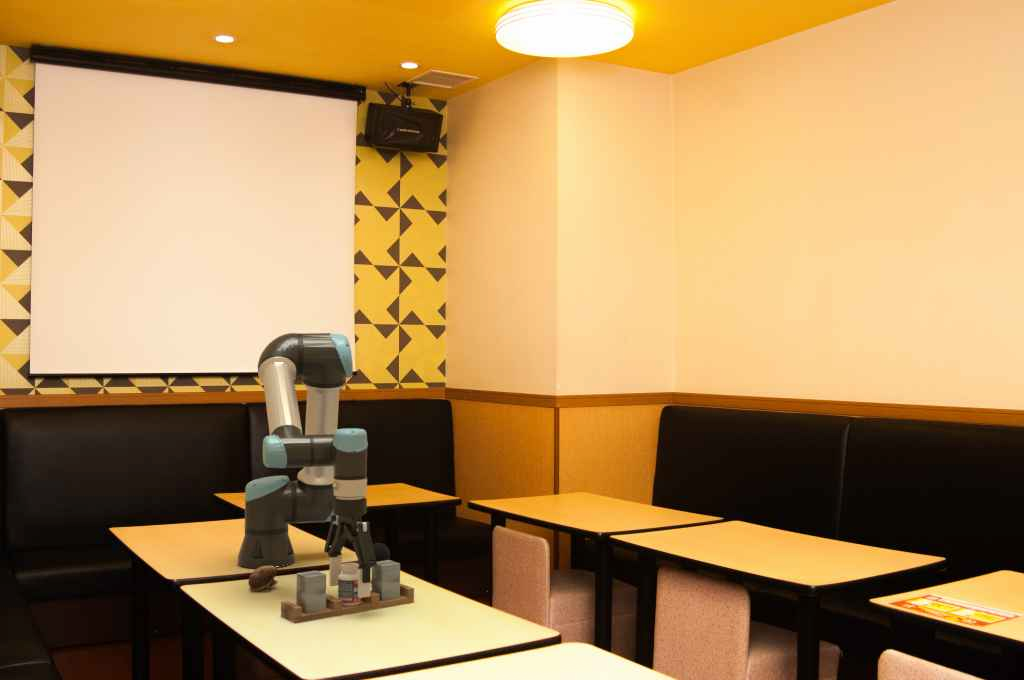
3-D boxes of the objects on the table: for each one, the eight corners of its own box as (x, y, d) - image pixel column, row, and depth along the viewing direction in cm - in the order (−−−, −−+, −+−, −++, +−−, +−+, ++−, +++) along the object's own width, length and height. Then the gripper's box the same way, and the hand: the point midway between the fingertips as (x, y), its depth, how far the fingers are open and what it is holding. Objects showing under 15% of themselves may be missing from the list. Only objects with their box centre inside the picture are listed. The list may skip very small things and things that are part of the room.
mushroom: (289, 572, 250) (274, 554, 248) (279, 592, 242) (264, 573, 241) (264, 585, 252) (249, 567, 250) (254, 605, 245) (238, 586, 243)
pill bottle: (356, 607, 225) (356, 567, 225) (334, 605, 226) (334, 566, 226) (364, 601, 230) (364, 562, 230) (342, 599, 231) (343, 561, 231)
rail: (280, 616, 222) (281, 574, 222) (397, 595, 240) (398, 557, 240) (295, 623, 216) (295, 580, 216) (413, 602, 235) (414, 562, 235)
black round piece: (388, 585, 250) (388, 545, 250) (364, 585, 251) (364, 545, 251) (391, 580, 256) (391, 540, 256) (368, 579, 256) (368, 540, 256)
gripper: (310, 491, 236) (309, 582, 236) (362, 505, 216) (361, 604, 216) (338, 489, 240) (338, 578, 240) (392, 502, 221) (392, 599, 221)
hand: (349, 591), depth 228 cm, fingers open, 13 cm apart
